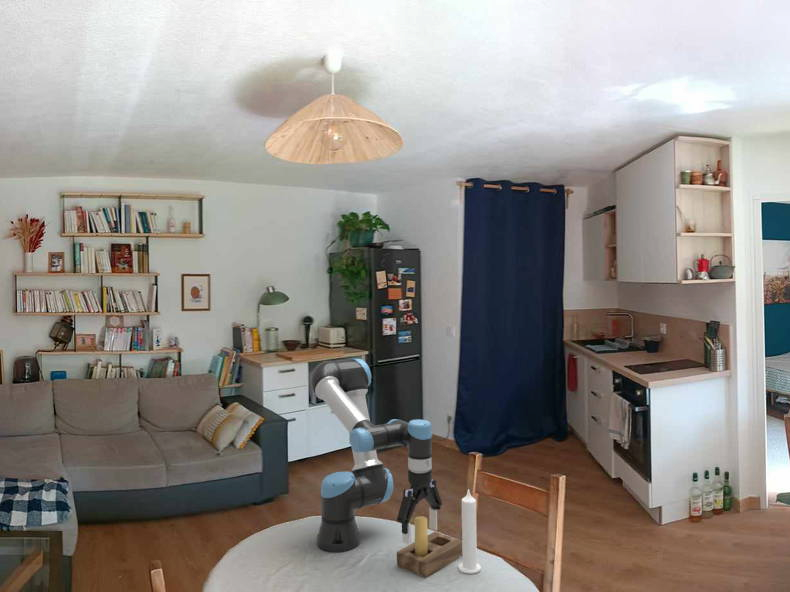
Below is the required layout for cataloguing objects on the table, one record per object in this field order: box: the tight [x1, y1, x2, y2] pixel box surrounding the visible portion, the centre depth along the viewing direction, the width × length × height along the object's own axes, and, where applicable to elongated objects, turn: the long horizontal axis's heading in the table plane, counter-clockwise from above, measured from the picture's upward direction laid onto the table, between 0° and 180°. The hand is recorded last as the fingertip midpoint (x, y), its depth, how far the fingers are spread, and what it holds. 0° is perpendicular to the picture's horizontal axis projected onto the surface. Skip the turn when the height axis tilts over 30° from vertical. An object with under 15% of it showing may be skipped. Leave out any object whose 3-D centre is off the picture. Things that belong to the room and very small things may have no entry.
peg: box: [414, 515, 428, 557], centre depth 182 cm, size 4×4×15 cm
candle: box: [457, 489, 482, 575], centre depth 180 cm, size 7×7×25 cm
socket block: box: [396, 531, 462, 579], centre depth 186 cm, size 12×20×4 cm, turn 139°
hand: (420, 536), depth 183 cm, fingers open, 13 cm apart
